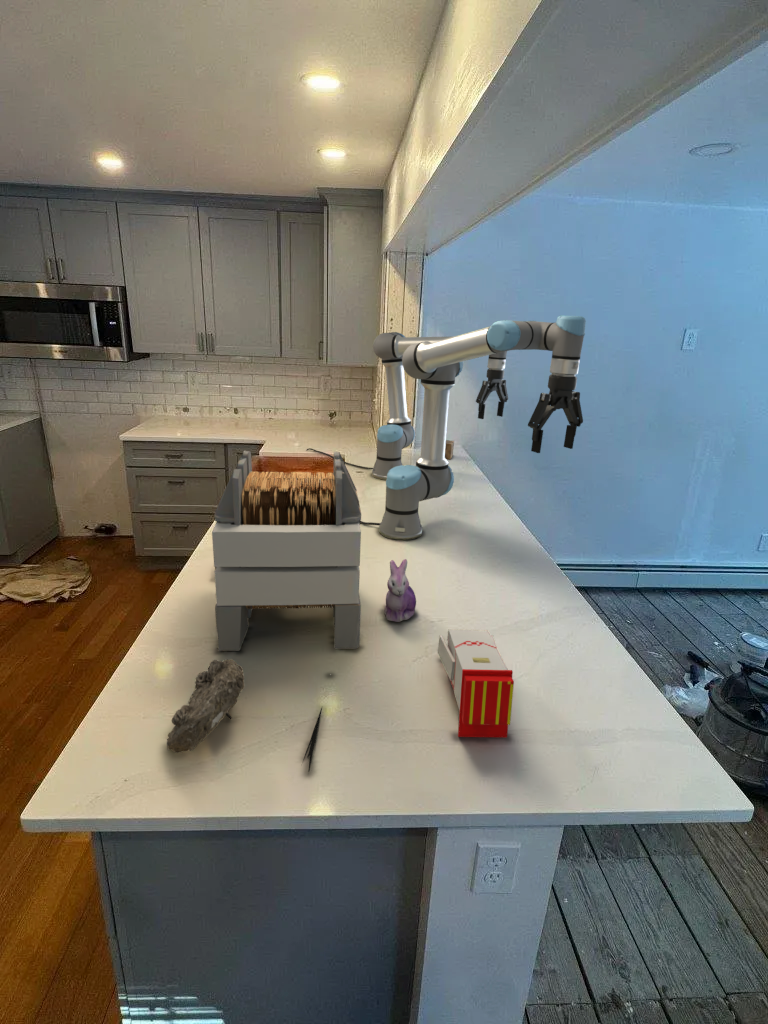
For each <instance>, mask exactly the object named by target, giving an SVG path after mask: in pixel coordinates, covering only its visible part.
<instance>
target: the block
mask: <svg viewBox="0 0 768 1024" xmlns="http://www.w3.org/2000/svg"><path fill="white" fill-rule="evenodd" d="M454 447H455V440H448V439H446V447H445V459H446V460H448V461H449V460H452V458H453V456H454Z"/></svg>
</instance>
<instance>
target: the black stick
mask: <svg viewBox="0 0 768 1024" xmlns="http://www.w3.org/2000/svg"><path fill="white" fill-rule="evenodd" d="M329 675H330V676H331V675H332V674H331V673H330V674H329ZM322 710H323V707H321V708H320V710H319V713H318V716H317V719H316V723H315V725H314V728H313V731H312V733H311V737H310V739H309V742H308V745H307V748H306V751H305V754H304V757H303V760H302V763H301V767H302V765H303V763H304V761H305V758H308V759H309V760H308V762H307V763H308V764H307V766H308V771H310V770H311V766H312V765H311V764H312V760H313V757H315V756H314V755H315V751H316V749H315V746H317V739H318V733H319V729H320V722H321V717H322V712H323V711H322ZM313 754H314V755H313ZM306 755H307V757H306Z"/></svg>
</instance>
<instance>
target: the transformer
mask: <svg viewBox="0 0 768 1024" xmlns="http://www.w3.org/2000/svg"><path fill="white" fill-rule="evenodd" d="M333 457H334V458H333V472H331V471H330V472H326V473H325V472H323V471H322V472H321V471H319V472H314V473H313V472H311V471H305V472H304V471H291V472H284V471H253V467H252V466H253V465H252V464H253V463H252V452H251V450H243V452H242V454H241V456H240V457H239V460H238V462H237V464H236V466H235V468H234V469H233V471H232V474H231V476H230V478H229V479H228V482H227V484H226V486H225V489H224V492H223V493H222V496H221V498H220V500H219V502H218V505H217V507H216V508H215V511H214V514H213V515H214V521H215V525H214V527H213V529H212V531H211V536H212V537H211V538H212V554H213V555H212V556H213V567H214V568H215V567H217V568H216V570H215V569H214V582H215V583H214V585H215V601H216V603H215V607H214V609H215V610H214V611H215V612H214V613H215V628H216V635H217V647H216V649H217V651H218V652H223V653H224V652H225V651H230V652H231V651H232V652H233V651H237V652H239V651H240V650H241V648H242V645H243V643H244V640H245V638H246V635H247V632H248V631H249V630H248V629H249V620H250V619H251V617H252V613H253V610H255V609H256V610H258V609H259V610H261V609H262V610H263V609H264V610H267V609H268V610H269V609H270V610H272V609H280V610H281V609H283V610H284V609H285V610H286V609H308V608H309V609H315V608H316V609H319V608H320V609H323V608H324V609H325V608H331V609H332V616H333V641H334V643H333V645H334V649H335V650H336V649H338V650H339V649H342V650H343V649H346V650H347V649H350V650H357V649H359V647H360V645H361V644H360V643H361V611H362V610H361V609H362V608H361V607H362V604H361V598H360V579H361V575H360V574H361V570H360V565H361V546H362V545H361V543H362V530H361V523H359V521H362V511H361V505H360V500H359V496H358V492H357V491H358V490H357V487H356V485H355V483H354V481H353V478H352V476H351V474H350V472H349V470H348V468H347V464H345V463H344V462H345V461H344V459H343V457H342V454H341V452H340V451H333Z"/></svg>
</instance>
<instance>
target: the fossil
mask: <svg viewBox="0 0 768 1024" xmlns="http://www.w3.org/2000/svg"><path fill="white" fill-rule="evenodd" d="M243 670H244V669H243V667H242V665H240V664H237V662H236V661H235V660H234V659H232V658H231V659H227V658H226V659H224V660H223V661H222V660H217V659H212V660H211V661H210V663H209V665H208V666H207V671H201V672H199V673H198V674H197V675H196V676H195V680H194V684H195V685H194V687H195V689H194V690H193V693H192V694H191V697H190V698H189V700H188V704H184V705H182V706H181V707H180V709H177V710H176V711H175V713H174V715H173V716H172V718H171V723H172V724H173V727H172V730H171V731H170V732H168V734H167V738H166V741H167V742H166V745H167V749H168V750H169V751H173V752H174V753H176V754H178V753H182V752H188V751H189V752H192V751H193V750H195V748H196V747H197V746H199V744H200V743H201V742H203V741H204V740H205V739H206V738H207V737H208V736H209V735H210V734H211V733H212V732H214V730H215V729H217V727H218V726H219V724H220V722H221V721H222V720H223V719H224V718H225V716H226V717H227V719H229V720H233V717H232V715H230V714H229V710H230V709H231V708H234V706H235V704H236V703H237V702H238V699H239V697H240V695H241V693H242V691H243V690H245V689H244V688H245V675H244V671H243Z"/></svg>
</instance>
